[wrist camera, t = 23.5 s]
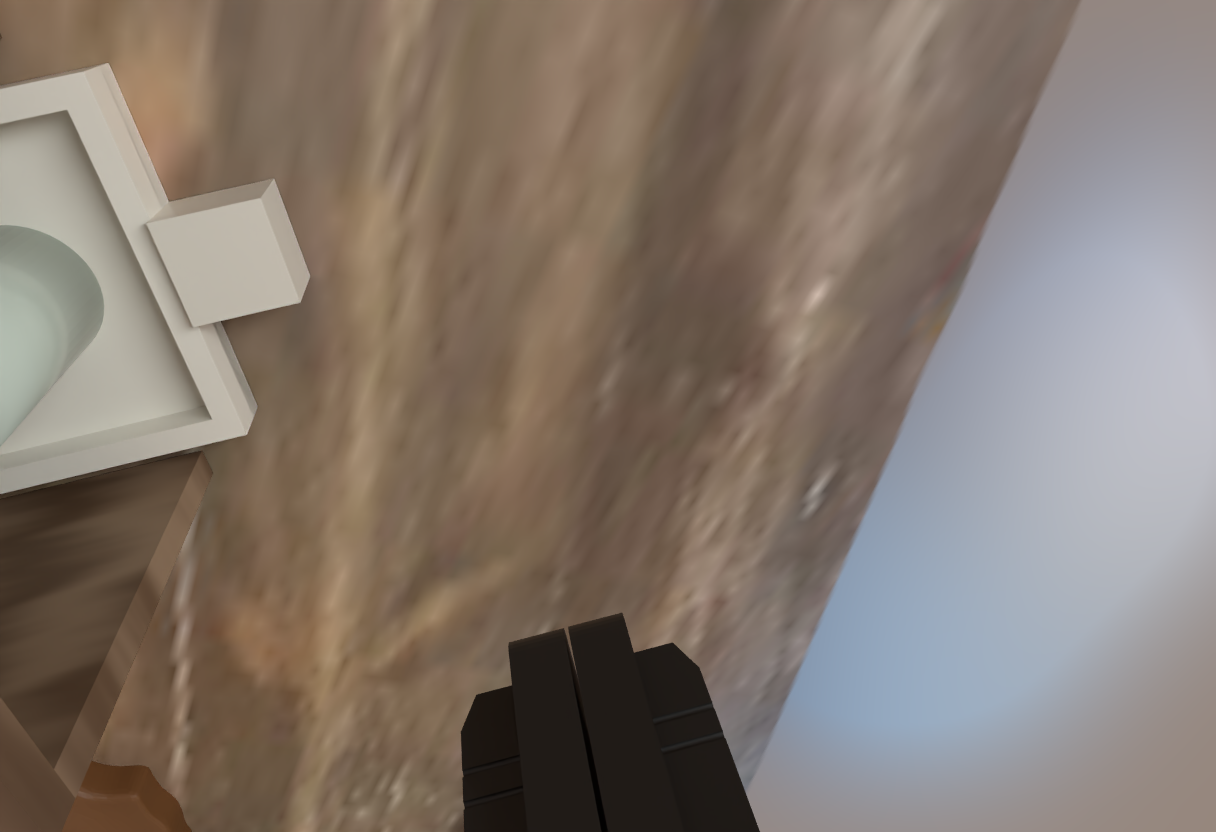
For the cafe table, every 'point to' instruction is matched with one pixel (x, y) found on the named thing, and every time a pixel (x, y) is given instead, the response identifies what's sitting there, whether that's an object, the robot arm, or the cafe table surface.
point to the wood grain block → (79, 619)
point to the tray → (136, 282)
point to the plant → (123, 802)
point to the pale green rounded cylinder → (40, 318)
